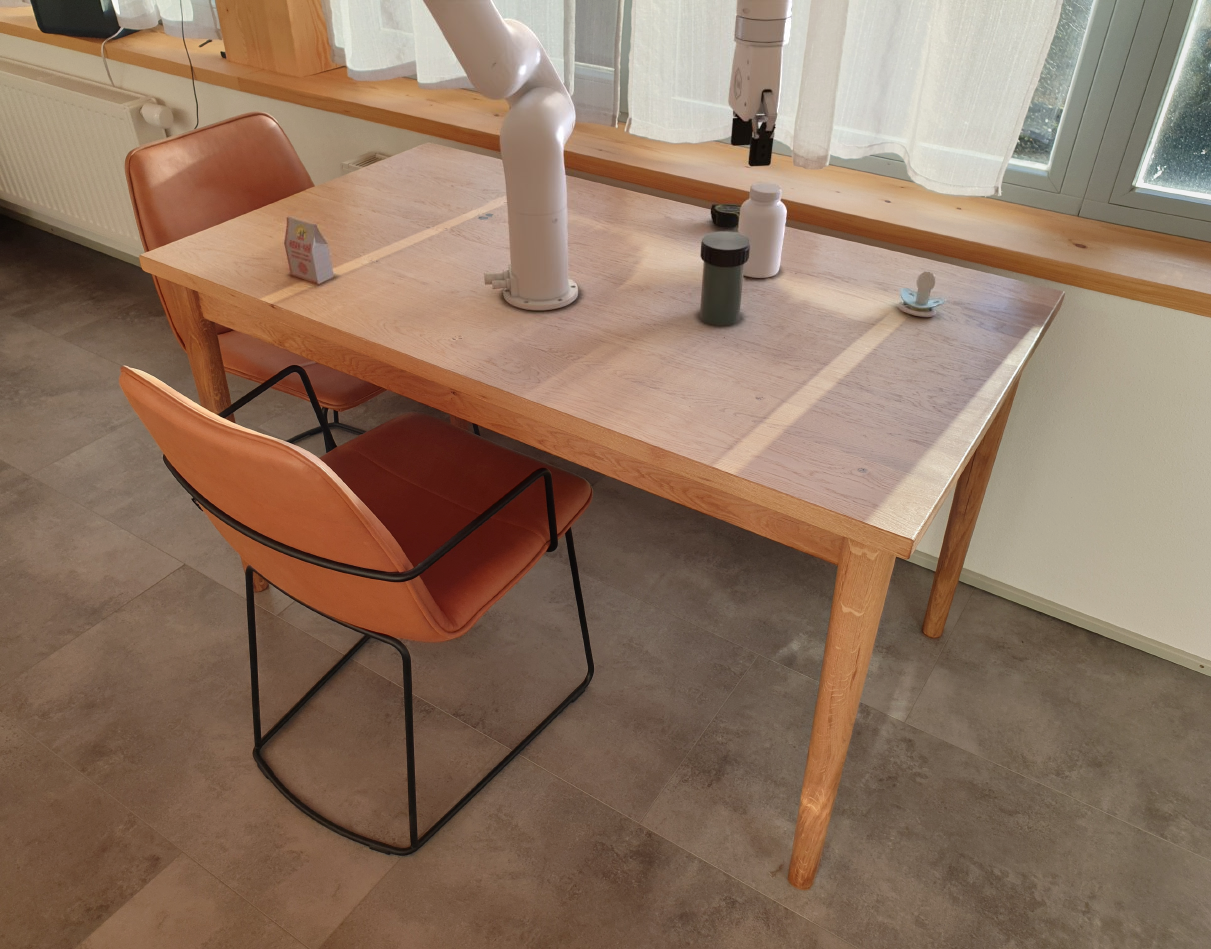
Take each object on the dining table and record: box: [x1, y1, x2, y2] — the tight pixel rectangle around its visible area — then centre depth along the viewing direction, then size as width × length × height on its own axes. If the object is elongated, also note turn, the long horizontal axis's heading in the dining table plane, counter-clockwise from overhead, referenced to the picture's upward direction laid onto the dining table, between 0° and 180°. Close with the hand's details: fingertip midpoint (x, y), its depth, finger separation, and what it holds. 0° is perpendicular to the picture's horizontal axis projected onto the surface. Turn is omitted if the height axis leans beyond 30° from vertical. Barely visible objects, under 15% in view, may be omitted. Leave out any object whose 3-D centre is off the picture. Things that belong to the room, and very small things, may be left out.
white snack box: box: [283, 216, 335, 285], centre depth 161 cm, size 4×7×10 cm, turn 58°
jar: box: [699, 261, 745, 327], centre depth 148 cm, size 6×6×12 cm
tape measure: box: [710, 203, 742, 230], centre depth 182 cm, size 7×7×4 cm
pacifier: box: [896, 271, 947, 318], centre depth 152 cm, size 7×6×6 cm
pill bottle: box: [737, 181, 788, 279], centre depth 162 cm, size 8×8×15 cm
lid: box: [700, 231, 750, 267], centre depth 145 cm, size 8×8×3 cm
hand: (749, 154), depth 139 cm, fingers open, 9 cm apart
